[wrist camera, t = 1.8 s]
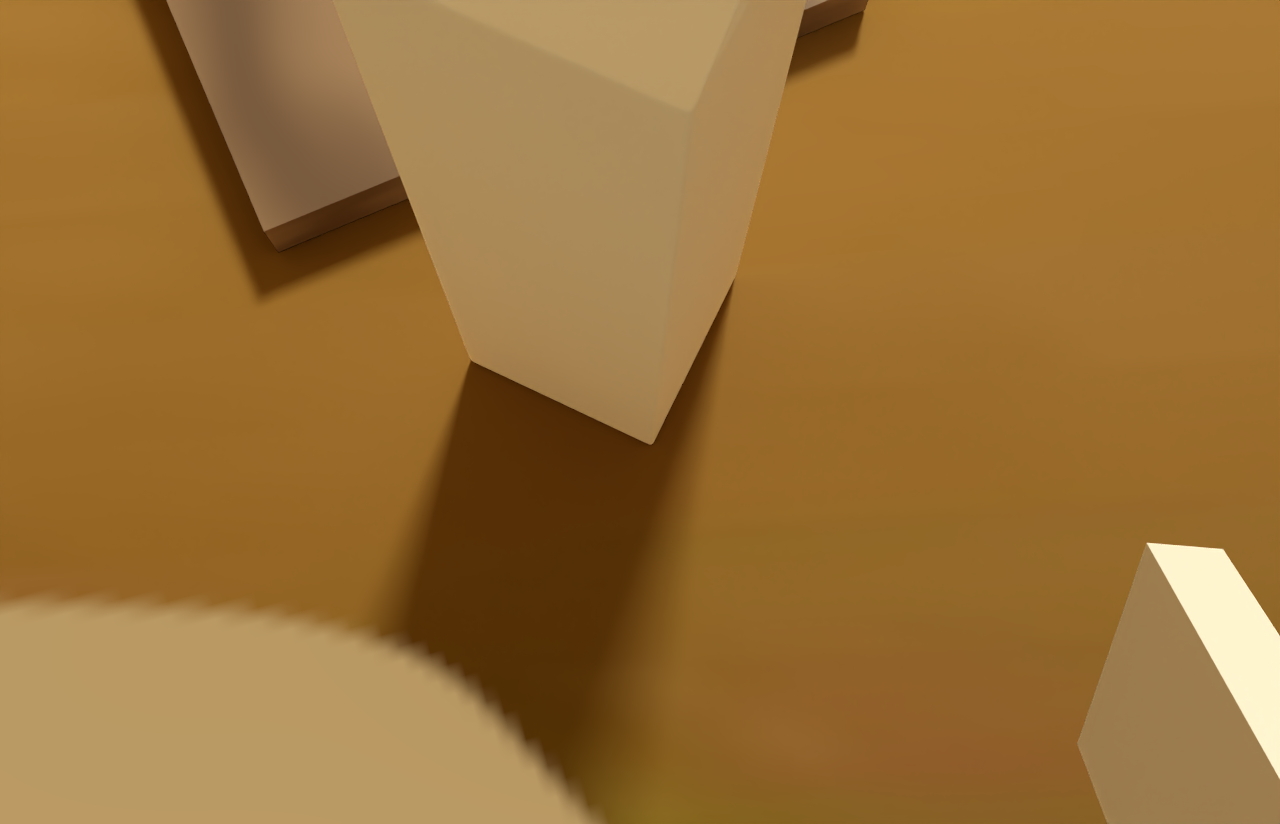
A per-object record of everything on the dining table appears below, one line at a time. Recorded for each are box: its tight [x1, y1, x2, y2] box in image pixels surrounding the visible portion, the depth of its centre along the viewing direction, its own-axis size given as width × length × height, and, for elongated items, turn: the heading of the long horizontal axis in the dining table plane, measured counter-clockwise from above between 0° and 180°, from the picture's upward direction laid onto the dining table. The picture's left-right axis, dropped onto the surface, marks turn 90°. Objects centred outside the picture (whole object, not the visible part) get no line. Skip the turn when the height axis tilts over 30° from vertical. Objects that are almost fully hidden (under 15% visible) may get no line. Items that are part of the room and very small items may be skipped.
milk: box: [333, 0, 806, 445], centre depth 25 cm, size 6×6×22 cm
